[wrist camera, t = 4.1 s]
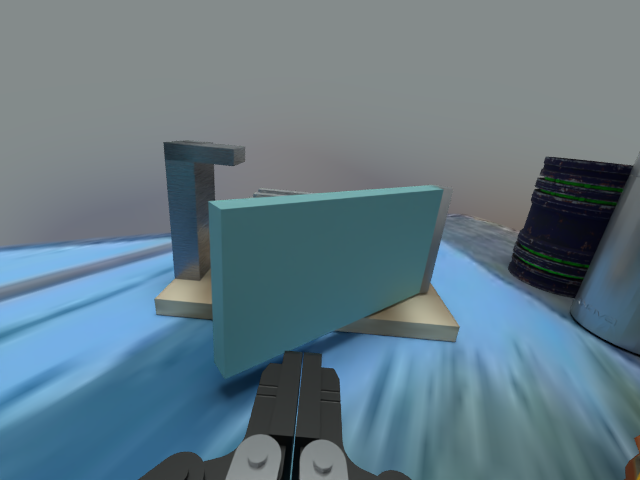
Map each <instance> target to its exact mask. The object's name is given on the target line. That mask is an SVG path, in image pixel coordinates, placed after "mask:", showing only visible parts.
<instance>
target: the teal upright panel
mask: <svg viewBox="0 0 640 480" xmlns="http://www.w3.org/2000/svg"><path fill="white" fill-rule="evenodd" d="M452 192H453V188H450V187H446V186H441V185H427V186H414V187H400V188H386V189H373V190H360V191H359V190H358V191H345V192H332V193H331V192H330V193H316V194H302V195H288V196H275V197H261V198H247V199H234V200H219V201H208V206H209V233H210V260H211V287H212V313H213V340H214V362H215V364H216V366H217V367H218V369H219V371H220V372H221V374H222V376H223V377H224V379H227V378H229V377H231V376H234V375H236V374H238V373H240V372H243V371H245V370H247V369H249V368H251V367H254V366H256V365H258V364H260V363H263V362H265V361H267V360H269V359H272V358H274V357H276V356H278V355H281V354H283V353H284V352H285V351H290V350H292V349H294V348H296V347H299V346H301V345H303V344H305V343H308V342H310V341H312V340H314V339H317V338H319V337H321V336H323V335H326V334H328V333H330V332H332V331H335V330H337V329H339V328H341V327H344V326H346V325H348V324H350V323H353V322H355V321H357V320H359V319H362V318H364V317H366V316H368V315H371V314H373V313H375V312H377V311H380V310H382V309H384V308H386V307H389V306H391V305H393V304H395V303H397V302H400V301H402V300H404V299H406V298H409V297H411V296H413V295H415V294H418V293H425V292H428V290H429V286H430V282H431V278H432V274H433V270H434V266H435V261H436V257H437V253H438V249H439V245H440V241H441V237H442V233H443V229H444V225H445V221H446V217H447V213H448V208H449V204H450V201H451V196H452Z"/></svg>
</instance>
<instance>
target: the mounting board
mask: <svg viewBox="0 0 640 480" xmlns="http://www.w3.org/2000/svg"><path fill="white" fill-rule="evenodd" d="M155 307H156V314H157V315H168V316H179V317H190V318H201V319H212V320H213V313H212V287H211V268H210V270H209V271H208V272H207V273H206V274H205V276H204V277H203V278H202V279H201V280H200V281H194V280H184V279H174V280H173V281H172V282H171V283H170V284H169V285H168V286H167V287H166V288H165V289H164V290H163V291H162V292H161V293H160V294H159V295H158V296H157V297H156V298H155ZM459 328H460V326H459V325H458V323H457V322H456V320H455V319H454V317H453V316H452V314H451V313H450V311H449V310H448V308H447V307H446V305H445V304H444V302H443V301H442V299H441V298H440V296H439V295H438V293H437V292H436V290H435V289H434V287H433V286H432V284H431V283H430V286H429V290H428V292H425V293H418V294H415V295H413V296H411V297H409V298H406V299H404V300H402V301H400V302H397V303H395V304H393V305H391V306H389V307H386V308H384V309H382V310H380V311H377V312H375V313H373V314H371V315H368V316H366V317H364V318H362V319H359V320H357V321H355V322H353V323H350V324H348V325H346V326H344V327H341V328H339V329H337V330H335V331H343V332H354V333H365V334H376V335H387V336H398V337H409V338H420V339H431V340H442V341H453V342H455V341H456V338H457V334H458V331H459Z"/></svg>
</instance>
